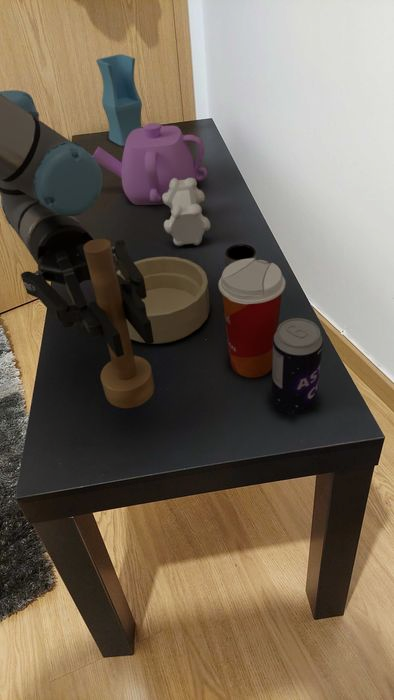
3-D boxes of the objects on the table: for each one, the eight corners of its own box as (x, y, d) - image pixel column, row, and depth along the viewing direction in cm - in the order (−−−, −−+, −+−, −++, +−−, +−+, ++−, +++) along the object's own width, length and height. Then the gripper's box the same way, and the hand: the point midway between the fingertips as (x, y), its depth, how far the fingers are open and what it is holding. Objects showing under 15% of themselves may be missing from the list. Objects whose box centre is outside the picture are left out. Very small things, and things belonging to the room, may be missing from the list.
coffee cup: (239, 337, 76) (237, 250, 66) (291, 353, 73) (296, 264, 63) (212, 372, 71) (204, 284, 61) (265, 392, 68) (267, 301, 58)
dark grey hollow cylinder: (223, 312, 81) (219, 256, 74) (234, 296, 84) (233, 241, 77) (249, 319, 79) (248, 262, 72) (260, 302, 82) (260, 247, 75)
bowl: (132, 360, 74) (125, 328, 70) (100, 304, 85) (93, 274, 81) (226, 325, 79) (225, 294, 75) (185, 276, 89) (182, 247, 85)
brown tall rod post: (114, 415, 59) (74, 269, 46) (99, 383, 63) (58, 240, 50) (162, 396, 61) (137, 250, 47) (144, 366, 65) (116, 223, 51)
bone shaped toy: (164, 214, 107) (159, 177, 102) (205, 210, 108) (202, 172, 102) (166, 251, 96) (161, 211, 91) (212, 246, 96) (209, 206, 91)
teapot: (218, 188, 115) (215, 122, 105) (142, 221, 106) (130, 152, 96) (169, 165, 126) (162, 104, 117) (96, 193, 118) (82, 129, 108)
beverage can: (296, 426, 63) (302, 355, 55) (262, 402, 66) (263, 332, 58) (324, 401, 66) (334, 330, 58) (290, 379, 69) (295, 309, 61)
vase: (121, 146, 139) (107, 64, 125) (108, 139, 144) (93, 59, 130) (146, 139, 142) (135, 58, 128) (133, 131, 147) (121, 53, 133)
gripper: (118, 248, 71) (204, 338, 55) (7, 286, 66) (67, 398, 50) (108, 197, 66) (199, 281, 50) (-13, 234, 61) (47, 340, 45)
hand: (133, 339), depth 50 cm, fingers closed on brown tall rod post, 3 cm apart
